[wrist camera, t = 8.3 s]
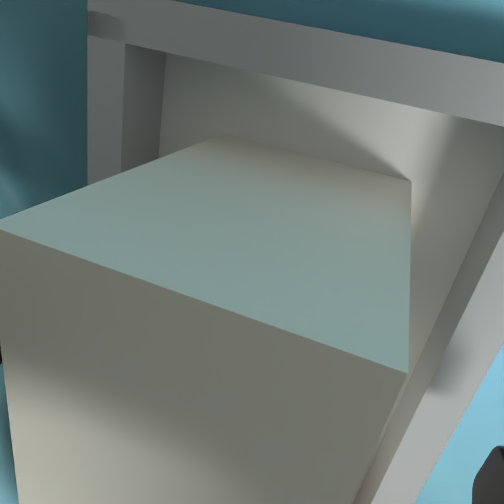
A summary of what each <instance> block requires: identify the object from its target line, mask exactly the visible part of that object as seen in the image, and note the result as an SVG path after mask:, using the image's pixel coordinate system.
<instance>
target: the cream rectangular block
mask: <svg viewBox="0 0 504 504" xmlns="http://www.w3.org/2000/svg"><path fill="white" fill-rule="evenodd" d="M411 190H412V182H411V181H407V180H403V179H400V178H396V177H392V176H388V175H384V174H380V173H376V172H372V171H368V170H365V169H361V168H357V167H353V166H349V165H345V164H341V163H337V162H333V161H330V160H326V159H322V158H318V157H314V156H310V155H306V154H302V153H298V152H294V151H291V150H287V149H283V148H279V147H275V146H271V145H267V144H263V143H259V142H256V141H252V140H248V139H244V138H240V137H236V136H232V135H228V134H222V135H219V136H216V137H214V138H211V139H209V140H206V141H203V142H201V143H198V144H196V145H193V146H190V147H188V148H185V149H183V150H180V151H177V152H175V153H172V154H169V155H167V156H164V157H162V158H159V159H156V160H154V161H151V162H149V163H146V164H143V165H141V166H138V167H135V168H133V169H130V170H128V171H125V172H122V173H120V174H117V175H115V176H112V177H109V178H107V179H104V180H101V181H99V182H96V183H94V184H91V185H88V186H86V187H83V188H81V189H78V190H75V191H73V192H70V193H67V194H65V195H62V196H60V197H57V198H54V199H52V200H49V201H47V202H44V203H41V204H39V205H36V206H33V207H31V208H28V209H26V210H23V211H20V212H18V213H15V214H13V215H10V216H7V217H5V218H2V219H0V346H1V354H2V363H3V371H4V380H5V388H6V397H7V405H8V414H9V422H10V431H11V439H12V448H13V456H14V465H15V473H16V482H17V491H18V499H19V504H350V502H351V500H352V498H353V496H354V493H355V491H356V489H357V487H358V485H359V482H360V480H361V478H362V476H363V473H364V471H365V469H366V467H367V465H368V462H369V460H370V458H371V456H372V453H373V451H374V449H375V447H376V444H377V442H378V440H379V438H380V436H381V433H382V431H383V429H384V427H385V424H386V422H387V420H388V418H389V416H390V413H391V411H392V409H393V407H394V404H395V402H396V400H397V398H398V395H399V393H400V391H401V389H402V387H403V384H404V382H405V380H406V378H407V375H408V359H409V302H410V246H411Z"/></svg>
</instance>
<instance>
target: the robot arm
mask: <svg viewBox="0 0 504 504" xmlns="http://www.w3.org/2000/svg"><path fill="white" fill-rule="evenodd" d="M1 363H2V354H1V346H0V364H1ZM472 504H504V446H496V447H495V448H494V449H493V450H492V451H491V453H490V454H489V456H488V457H487V459H486V460H485V462H484V464H483V465H482V467H481V468H480V470H479V472H478V473H477V475H476V477H475V479H474V483H473V488H472Z"/></svg>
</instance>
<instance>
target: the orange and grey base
mask: <svg viewBox="0 0 504 504" xmlns="http://www.w3.org/2000/svg"><path fill="white" fill-rule="evenodd" d="M222 134H228V135H232V136H236V137H240V138H244V139H248V140H252V141H256V142H259V143H263V144H267V145H271V146H275V147H279V148H283V149H287V150H291V151H294V152H298V153H302V154H306V155H310V156H314V157H318V158H322V159H326V160H330V161H333V162H337V163H341V164H345V165H349V166H353V167H357V168H361V169H365V170H368V171H372V172H376V173H380V174H384V175H388V176H392V177H396V178H400V179H403V180H407V181H411V182H412V190H411V246H410V302H409V359H408V375H407V378H406V380H405V382H404V384H403V387H402V389H401V391H400V393H399V395H398V398H397V400H396V402H395V404H394V407H393V409H392V411H391V413H390V416H389V418H388V420H387V422H386V424H385V427H384V429H383V431H382V433H381V436H380V438H379V440H378V442H377V444H376V447H375V449H374V451H373V453H372V456H371V458H370V460H369V462H368V465H367V467H366V469H365V471H364V473H363V476H362V478H361V480H360V482H359V485H358V487H357V489H356V491H355V493H354V496H353V498H352V500H351V502H350V504H414V503H415V501H416V499H417V497H418V495H419V494H420V492H421V490H422V488H423V486H424V485H425V483H426V481H427V479H428V478H429V476H430V474H431V472H432V470H433V469H434V467H435V465H436V463H437V461H438V460H439V458H440V456H441V454H442V452H443V451H444V449H445V447H446V445H447V444H448V442H449V440H450V438H451V436H452V435H453V433H454V431H455V429H456V427H457V426H458V424H459V422H460V420H461V419H462V417H463V415H464V413H465V411H466V410H467V408H468V406H469V404H470V402H471V401H472V399H473V397H474V395H475V393H476V392H477V390H478V388H479V386H480V385H481V383H482V381H483V379H484V377H485V376H486V374H487V372H488V370H489V368H490V367H491V365H492V363H493V361H494V360H495V358H496V356H497V354H498V352H499V351H500V349H501V347H502V345H503V343H504V63H500V62H494V61H489V60H484V59H479V58H473V57H468V56H463V55H458V54H452V53H447V52H442V51H436V50H431V49H426V48H421V47H415V46H410V45H405V44H400V43H394V42H389V41H384V40H378V39H373V38H368V37H363V36H357V35H352V34H347V33H342V32H336V31H331V30H326V29H321V28H315V27H310V26H305V25H299V24H294V23H289V22H284V21H278V20H273V19H268V18H263V17H257V16H252V15H247V14H241V13H236V12H231V11H226V10H220V9H215V8H210V7H205V6H199V5H194V4H189V3H184V2H178V1H173V0H87V186H88V185H91V184H94V183H96V182H99V181H101V180H104V179H107V178H109V177H112V176H115V175H117V174H120V173H122V172H125V171H128V170H130V169H133V168H135V167H138V166H141V165H143V164H146V163H149V162H151V161H154V160H156V159H159V158H162V157H164V156H167V155H169V154H172V153H175V152H177V151H180V150H183V149H185V148H188V147H190V146H193V145H196V144H198V143H201V142H203V141H206V140H209V139H211V138H214V137H216V136H219V135H222Z"/></svg>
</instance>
